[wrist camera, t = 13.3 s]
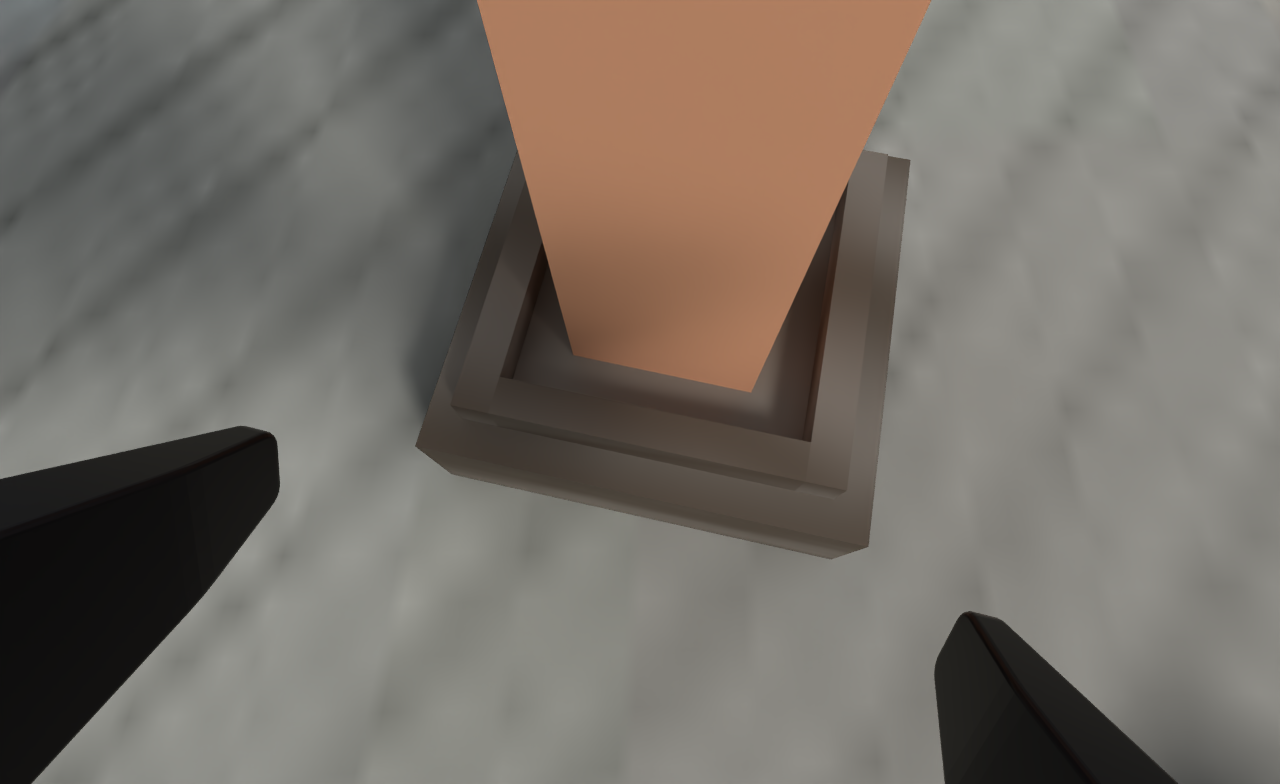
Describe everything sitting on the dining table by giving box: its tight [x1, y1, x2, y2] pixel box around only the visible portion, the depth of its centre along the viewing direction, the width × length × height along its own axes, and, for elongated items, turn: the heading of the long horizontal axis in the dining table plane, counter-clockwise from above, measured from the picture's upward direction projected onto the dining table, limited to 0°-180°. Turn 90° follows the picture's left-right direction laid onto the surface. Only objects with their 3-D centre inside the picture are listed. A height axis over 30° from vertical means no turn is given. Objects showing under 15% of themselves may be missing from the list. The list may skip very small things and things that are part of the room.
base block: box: [415, 150, 910, 559], centre depth 20 cm, size 12×12×5 cm
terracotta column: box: [477, 0, 931, 392], centre depth 13 cm, size 5×5×13 cm
